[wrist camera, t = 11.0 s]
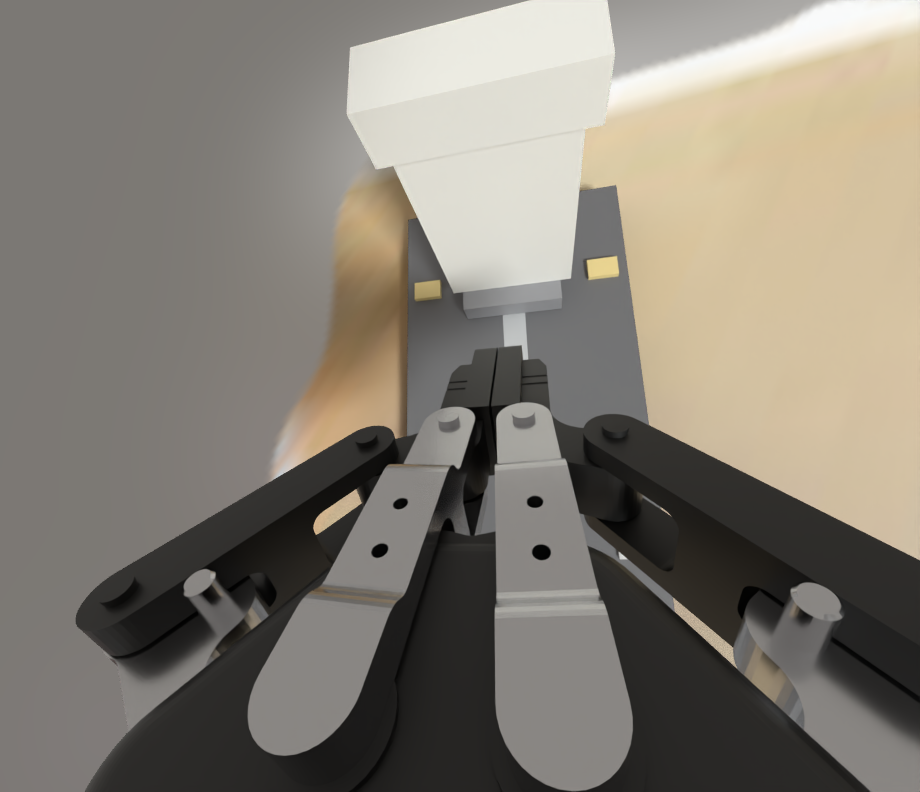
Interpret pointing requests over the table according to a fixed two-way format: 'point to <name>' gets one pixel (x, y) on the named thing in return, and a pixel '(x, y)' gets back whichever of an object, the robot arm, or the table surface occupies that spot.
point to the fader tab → (490, 139)
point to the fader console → (539, 339)
